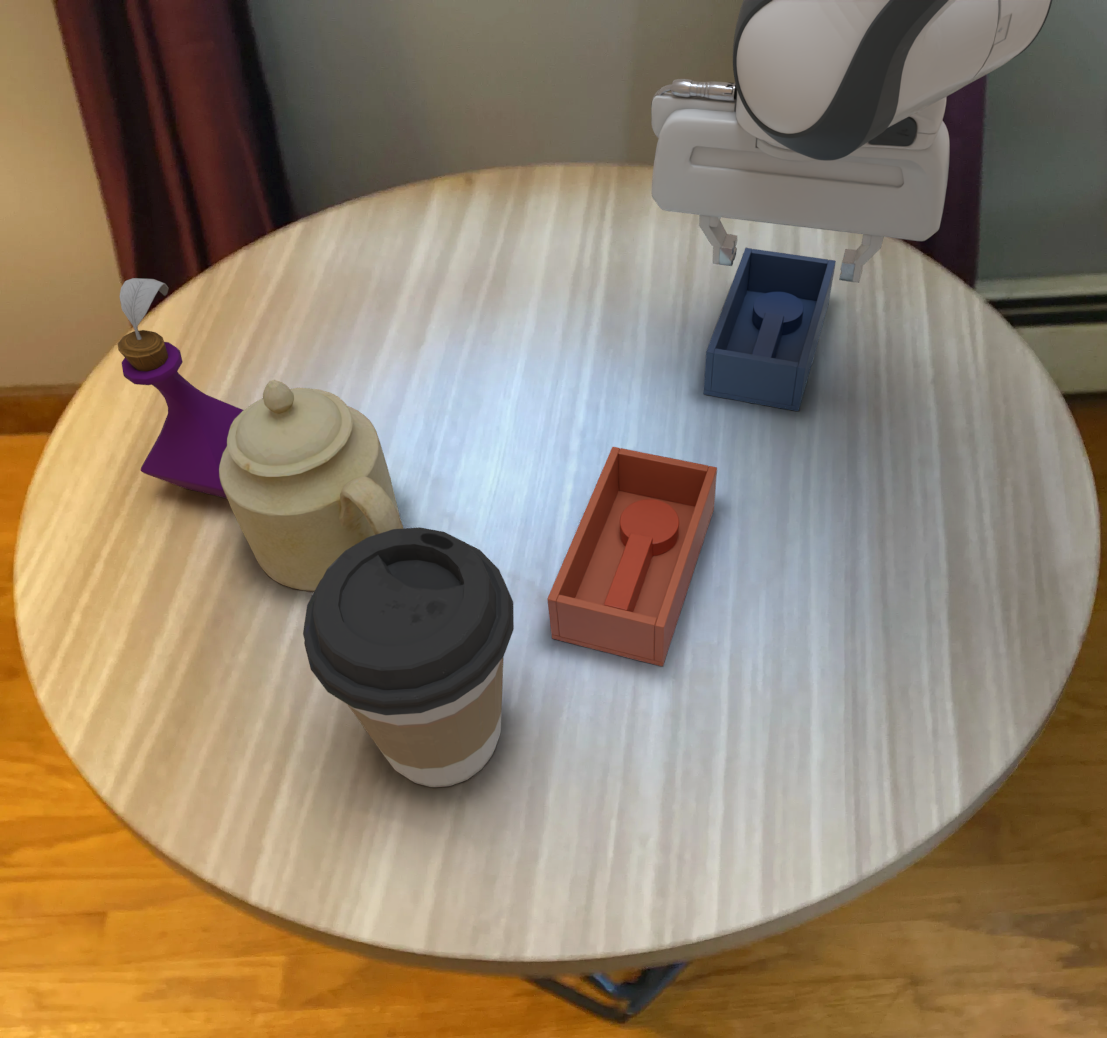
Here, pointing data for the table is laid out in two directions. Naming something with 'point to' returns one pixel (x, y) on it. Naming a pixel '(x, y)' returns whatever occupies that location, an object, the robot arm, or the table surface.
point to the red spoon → (641, 548)
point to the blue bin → (736, 335)
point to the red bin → (601, 549)
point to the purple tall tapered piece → (174, 401)
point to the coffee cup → (415, 649)
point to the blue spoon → (775, 320)
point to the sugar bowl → (305, 481)
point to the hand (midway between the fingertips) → (786, 268)
